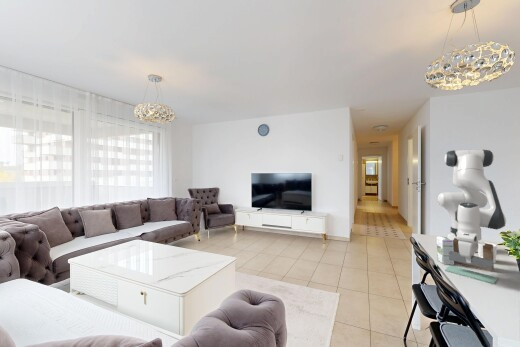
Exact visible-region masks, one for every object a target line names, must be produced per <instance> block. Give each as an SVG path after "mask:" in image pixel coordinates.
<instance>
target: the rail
mask: <svg viewBox="0 0 520 347" xmlns="http://www.w3.org/2000/svg"><path fill="white" fill-rule="evenodd" d="M449 260H453V261H457V262H461V263H465V264H470V265H474V266H478V267H482V268H487V269H491V270H492V269H493V266H494V263H493V260H491V259H486V258H481V257H479V256H476V255H474V256H471V261H472V262H471V263H467V262H466V258H465V257H464V256H461V255H460V253H458V252H453V251H450V252H449ZM492 271H493V270H492Z"/></svg>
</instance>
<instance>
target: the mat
mask: <svg viewBox="0 0 520 347" xmlns="http://www.w3.org/2000/svg"><path fill="white" fill-rule="evenodd" d="M444 271H445V272H448V273H451V274H456V275H458V274H459V276H462V275H463V276H462V277H467V278H469V277H470V279H473V278H474V279H473V280H476V281H480V282H485V283H488V284H492V285H495V283H496V282H497V279H498V277H496V276H492V275H490V274H487V273H486V274H485V273H481V272H478V271H473V270H471V269H466V268H462V267H458V266H455V265H448V266H447V267H446V268H445V269H444Z"/></svg>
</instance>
